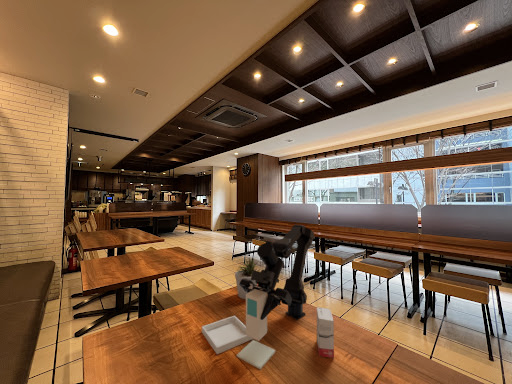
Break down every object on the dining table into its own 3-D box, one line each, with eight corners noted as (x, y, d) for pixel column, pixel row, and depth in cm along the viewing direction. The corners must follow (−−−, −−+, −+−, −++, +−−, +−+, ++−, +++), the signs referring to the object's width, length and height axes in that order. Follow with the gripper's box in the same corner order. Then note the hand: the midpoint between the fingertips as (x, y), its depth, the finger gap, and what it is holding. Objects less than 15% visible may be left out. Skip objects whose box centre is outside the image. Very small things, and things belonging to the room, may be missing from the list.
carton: (254, 327, 73) (254, 288, 73) (267, 332, 70) (267, 292, 70) (245, 335, 68) (245, 294, 69) (258, 341, 66) (258, 298, 66)
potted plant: (260, 301, 105) (261, 261, 106) (233, 301, 106) (233, 260, 106) (260, 291, 118) (261, 254, 119) (236, 290, 118) (236, 254, 119)
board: (253, 342, 75) (253, 339, 75) (275, 353, 70) (275, 350, 70) (236, 358, 68) (236, 354, 68) (260, 371, 62) (260, 367, 63)
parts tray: (234, 321, 88) (234, 315, 88) (253, 340, 76) (253, 333, 76) (201, 333, 80) (201, 326, 80) (216, 355, 68) (217, 347, 69)
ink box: (334, 359, 68) (334, 321, 68) (318, 356, 69) (318, 319, 69) (330, 341, 76) (330, 307, 77) (316, 339, 77) (316, 306, 77)
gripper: (242, 256, 78) (220, 297, 69) (288, 265, 68) (270, 315, 58) (254, 271, 85) (236, 311, 75) (298, 282, 74) (283, 330, 65)
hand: (254, 316), depth 68 cm, fingers closed on carton, 5 cm apart
